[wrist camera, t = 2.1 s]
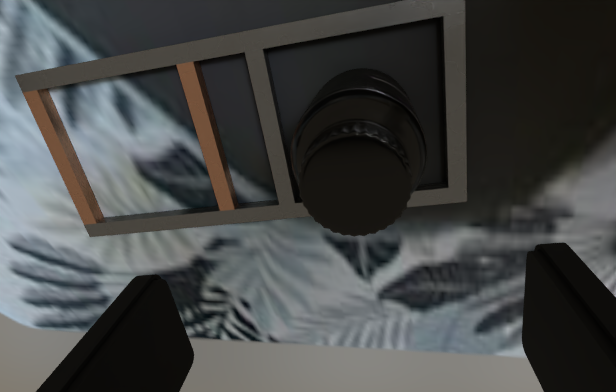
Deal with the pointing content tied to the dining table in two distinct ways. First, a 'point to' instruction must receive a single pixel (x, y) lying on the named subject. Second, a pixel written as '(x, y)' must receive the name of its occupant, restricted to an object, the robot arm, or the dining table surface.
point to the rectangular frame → (416, 6)
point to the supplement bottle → (358, 153)
